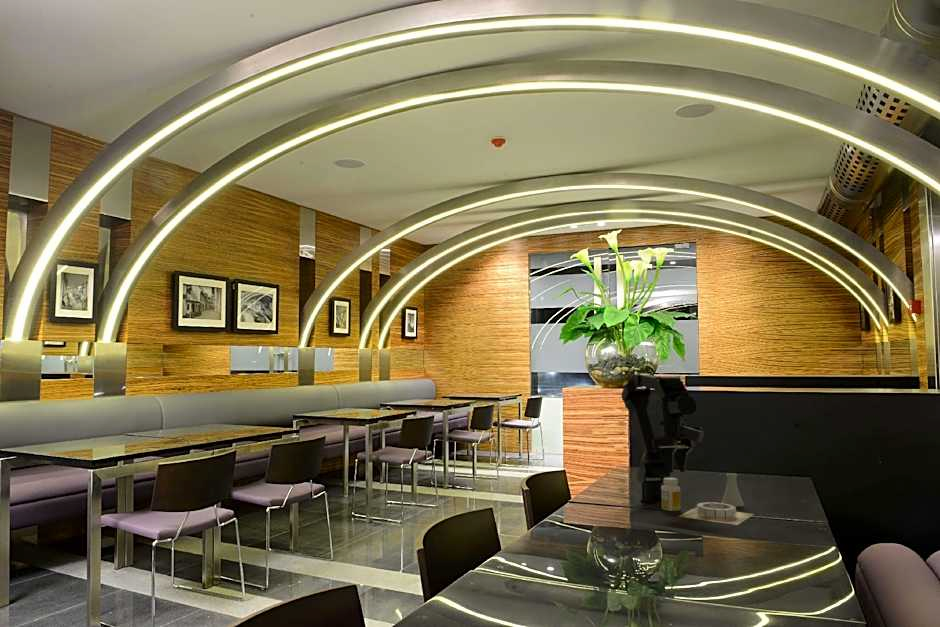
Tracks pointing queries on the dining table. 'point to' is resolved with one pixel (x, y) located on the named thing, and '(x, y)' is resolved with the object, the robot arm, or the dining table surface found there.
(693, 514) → the birch base plate
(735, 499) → the flask
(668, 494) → the supplement bottle
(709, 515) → the steel ring collar
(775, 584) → the dining table surface
